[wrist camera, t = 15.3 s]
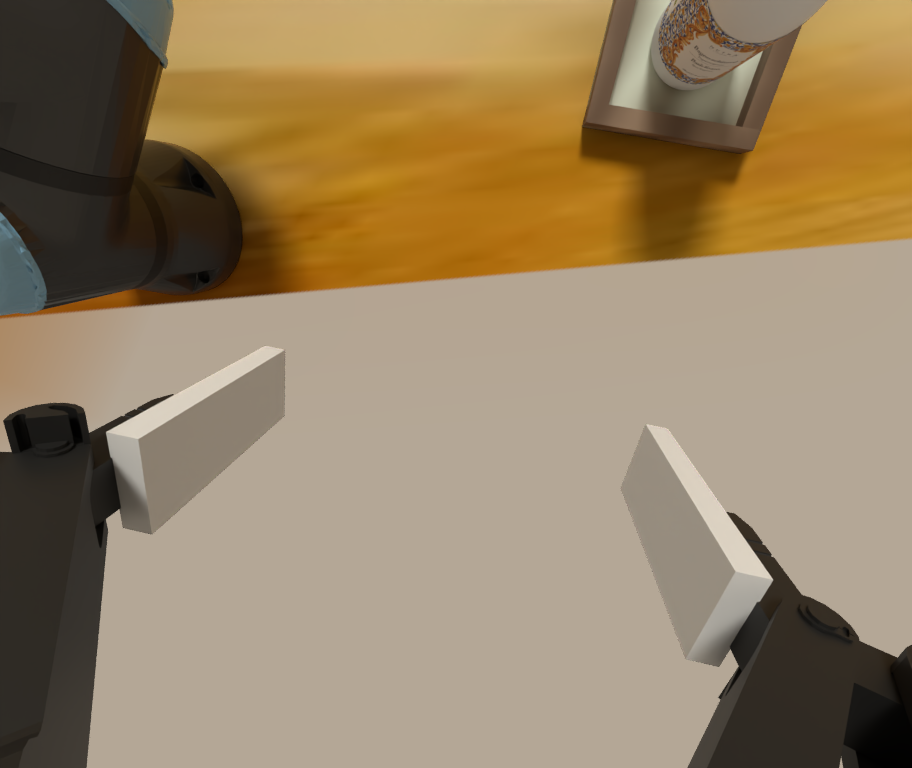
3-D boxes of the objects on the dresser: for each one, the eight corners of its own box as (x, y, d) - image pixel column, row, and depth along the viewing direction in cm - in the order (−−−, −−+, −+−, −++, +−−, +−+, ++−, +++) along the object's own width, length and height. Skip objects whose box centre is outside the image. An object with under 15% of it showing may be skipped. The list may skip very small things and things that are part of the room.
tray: (582, 126, 39) (585, 122, 36) (632, -81, 33) (640, -100, 31) (739, 153, 38) (753, 150, 36) (818, -54, 32) (839, -72, 30)
